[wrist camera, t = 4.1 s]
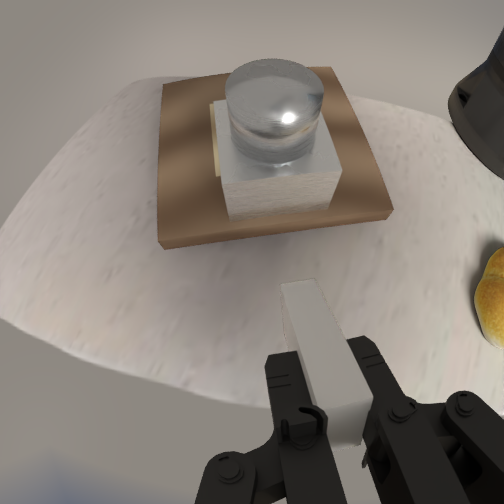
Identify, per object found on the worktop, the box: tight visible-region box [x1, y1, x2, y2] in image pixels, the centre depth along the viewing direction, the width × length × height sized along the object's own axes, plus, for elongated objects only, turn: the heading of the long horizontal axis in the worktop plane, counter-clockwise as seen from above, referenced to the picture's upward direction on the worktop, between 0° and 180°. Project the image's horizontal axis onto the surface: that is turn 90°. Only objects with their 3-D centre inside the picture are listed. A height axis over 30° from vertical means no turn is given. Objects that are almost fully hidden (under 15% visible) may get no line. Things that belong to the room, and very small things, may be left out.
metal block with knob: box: [213, 59, 343, 222], centre depth 17 cm, size 6×6×8 cm
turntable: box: [157, 67, 394, 250], centre depth 23 cm, size 16×16×2 cm
